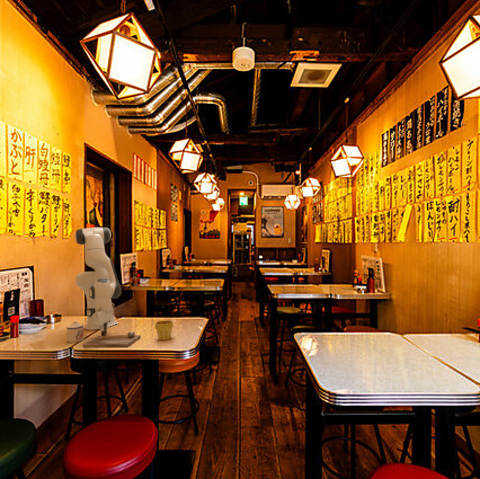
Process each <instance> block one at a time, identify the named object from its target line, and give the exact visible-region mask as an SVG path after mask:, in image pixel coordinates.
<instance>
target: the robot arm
mask: <svg viewBox="0 0 480 479" xmlns="http://www.w3.org/2000/svg"><path fill="white" fill-rule="evenodd" d="M111 237H112V232H111V230H110V228H108V227H97V226H94V227H88V228H78V229H76V231H75V233H74V237H73V238H74V240H75V242H76V244H78V245H79V246H84V259H85V260H84V261H85V264H86V266H88V267H89V268H92V269H93V270H94V271H84V272H83V271H81V272H79V273H77V275H76V276H75V279H74V281H75V285H76V286H77V287H78V288H80V289H81V290H82V291H83V293H84V294H85V297H86V304H87V305H86V306H87V307H86V315H87V316H86V325H85V326H84V329H85V330H90V331H92V330H93V331H94V330H100V332H101V331H104V326H103V325H104V323H107V329H108V328H110V326H111V327H114V326H116V325H115V324H117V325H119V324H118V323H119V322H118V321H116V317H115V315H114V307H115V303H113V302H112V299H118V298H119V297H120V296H121V295H122V287H121V284H120V282H119V280H118V276H117V273H116V270H115V266H114V263H113V261H112V259H111V258H110V257H108V255H107V253H106V250H105V244H106V243H109V242H110V241H111V239H112V238H111ZM113 325H114V326H113Z"/></svg>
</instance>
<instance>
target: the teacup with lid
mask: <svg viewBox="0 0 480 479" xmlns="http://www.w3.org/2000/svg"><path fill="white" fill-rule="evenodd" d="M72 322H73V323H70V324H69V325H67V326H66V330H67V331H66V334H67V335H66V336H67V337H66V338H67V343H68V344H75V343H80V342H83V341H84V327H85V326H84V324H83V323H80V322H78V321H77V320H75V321H72Z"/></svg>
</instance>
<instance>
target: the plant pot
mask: <svg viewBox="0 0 480 479" xmlns="http://www.w3.org/2000/svg"><path fill="white" fill-rule="evenodd" d="M154 327H155V328H154V329H155V330H156V333H157V337H158V340H159V341H166V340H167V341H168V340H170V339H171V335H172V331H173V330H172V329H173V328H174V322H173V320H170V319H169V320H168V319H165V320H158V321H156V322H155V323H154Z"/></svg>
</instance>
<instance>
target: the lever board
mask: <svg viewBox="0 0 480 479" xmlns="http://www.w3.org/2000/svg"><path fill="white" fill-rule="evenodd" d="M139 339H141V335H140V334H138V335H136V334H135V337H133V338H103V339H101V335H97V336H96V337H95V338H91V339H90V340H88V341H86V342H84V343H83V344H82V348H129V347H130V346H132V345H133V344H134V343H136V342H137V341H139Z"/></svg>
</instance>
